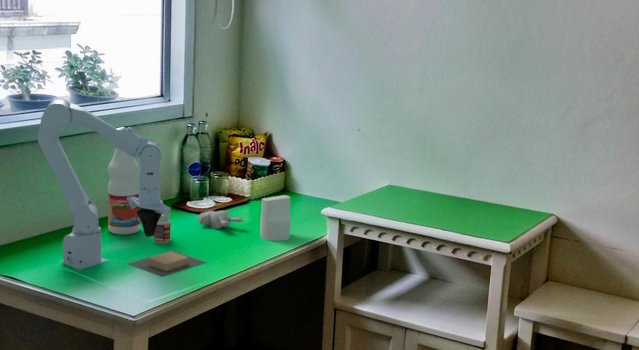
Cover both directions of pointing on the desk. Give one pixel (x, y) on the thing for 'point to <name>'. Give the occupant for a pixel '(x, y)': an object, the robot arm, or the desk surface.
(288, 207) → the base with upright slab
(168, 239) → the pill bottle
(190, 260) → the mat
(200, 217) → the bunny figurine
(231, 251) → the desk surface
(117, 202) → the fruit juice
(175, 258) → the block
